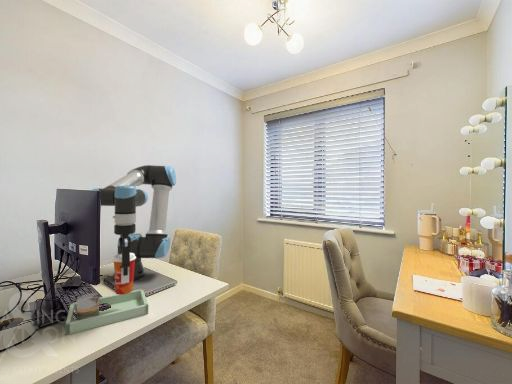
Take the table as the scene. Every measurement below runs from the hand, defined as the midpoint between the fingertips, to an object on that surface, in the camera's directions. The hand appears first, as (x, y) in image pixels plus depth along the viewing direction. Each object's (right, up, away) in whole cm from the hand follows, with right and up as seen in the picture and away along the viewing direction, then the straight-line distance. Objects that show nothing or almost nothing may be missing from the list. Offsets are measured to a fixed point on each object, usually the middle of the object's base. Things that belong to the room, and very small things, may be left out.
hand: (124, 278), depth 95 cm
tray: (-5, -14, -2) cm, 15 cm away
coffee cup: (0, -5, 0) cm, 5 cm away
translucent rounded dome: (-11, -13, -6) cm, 18 cm away
